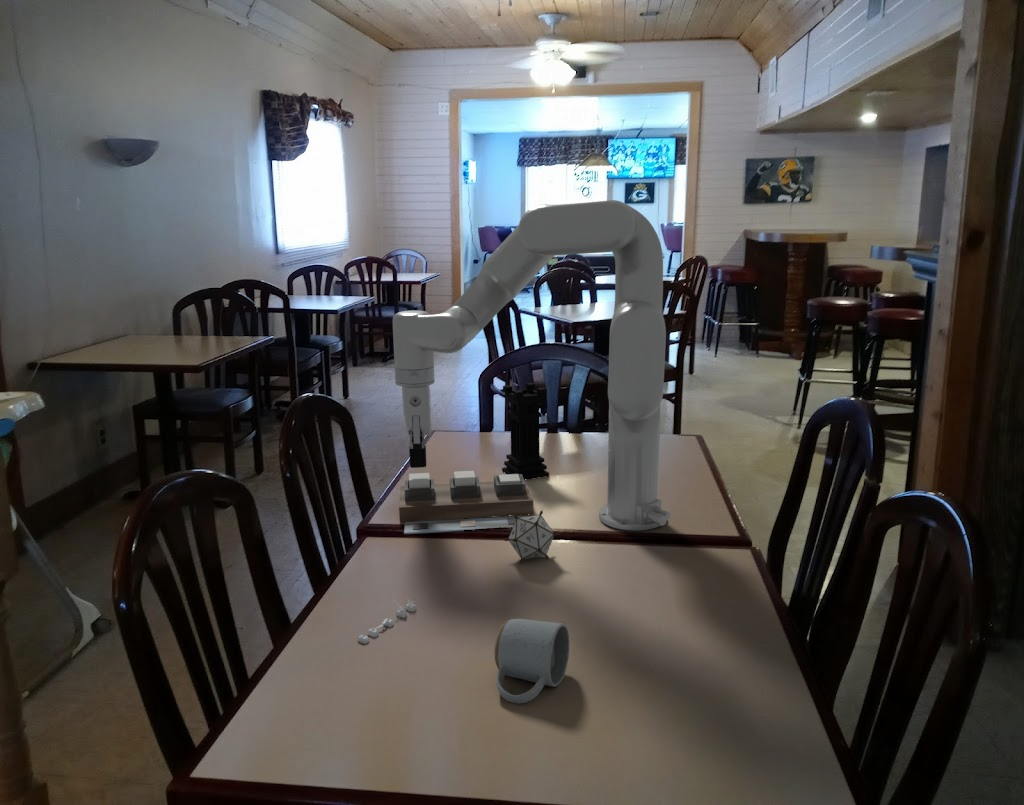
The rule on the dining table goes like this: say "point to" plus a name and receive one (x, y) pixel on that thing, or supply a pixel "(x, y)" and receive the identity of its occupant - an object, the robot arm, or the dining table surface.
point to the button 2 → (509, 479)
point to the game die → (531, 536)
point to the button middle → (464, 478)
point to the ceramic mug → (531, 655)
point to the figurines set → (388, 621)
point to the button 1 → (419, 480)
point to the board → (463, 506)
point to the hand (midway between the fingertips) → (418, 466)
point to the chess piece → (525, 432)
